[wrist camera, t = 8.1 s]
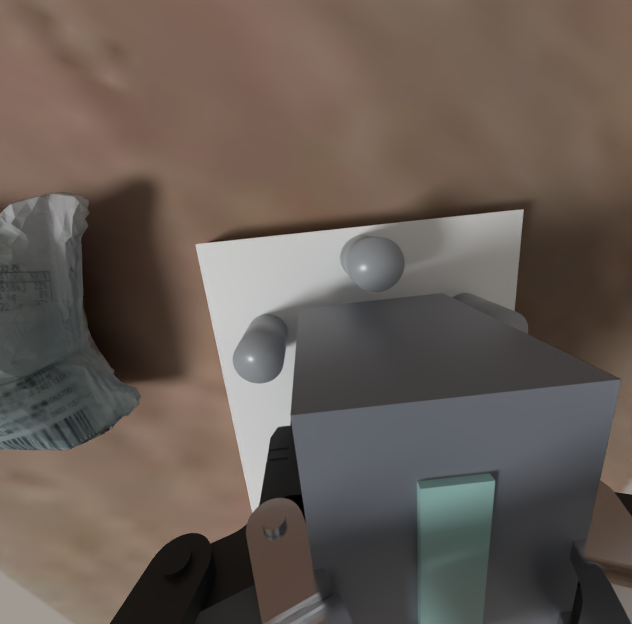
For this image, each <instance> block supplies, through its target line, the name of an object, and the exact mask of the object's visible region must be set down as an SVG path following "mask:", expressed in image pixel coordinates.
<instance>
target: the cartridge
mask: <svg viewBox="0 0 632 624" xmlns="http://www.w3.org/2000/svg"><path fill="white" fill-rule="evenodd" d="M620 384H621V379H620V378H618V377H616V376H613V375H611V374H609V373H607V372H605V371H603V370H601V369H599V368H597V367H595V366H593V365H591V364H589V363H586V362H584V361H582V360H580V359H578V358H576V357H574V356H572V355H570V354H568V353H566V352H564V351H562V350H559V349H557V348H555V347H553V346H551V345H549V344H547V343H545V342H543V341H541V340H539V339H537V338H535V337H532V336H530V335H528V334H526V333H524V332H522V331H520V330H518V329H516V328H514V327H512V326H510V325H508V324H506V323H503V322H501V321H499V320H497V319H495V318H493V317H491V316H489V315H487V314H485V313H483V312H481V311H479V310H476V309H474V308H472V307H470V306H468V305H466V304H464V303H462V302H460V301H458V300H456V299H454V298H452V297H449V296H447V295H445V294H443V293H438V294H429V295H420V296H410V297H401V298H392V299H383V300H373V301H364V302H355V303H345V304H336V305H327V306H317V307H308V308H299V314H298V327H297V339H296V352H295V364H294V376H293V389H292V401H291V414H290V416H291V423H292V430H293V437H294V444H295V450H296V457H297V464H298V471H299V478H300V484H301V491H302V498H303V505H304V512H305V518H306V525H307V532H308V539H309V546H310V552H311V559H312V566H313V570H314V569H323V568H324V569H325V572H326V574H327V577H328V579H329V582H330V584H331V587H332V589H333V591H334V592H335V593H338V594H339V595H340V596H341V598H342V600H343V602H344V604H345V606H346V608H347V611H348V613H349V615H350V618H351V620H352V623H353V624H557V621H558V616H559V612H566V611H572V608H573V603H574V599H575V594H576V589H577V585H578V580H579V579H578V576H577V574H576V571H575V569H574V567H573V565H572V562H571V560H570V554H571V549H572V544H573V540H582V539H587V538H588V533H589V528H590V524H591V519H592V514H593V510H594V505H595V500H596V496H597V491H598V486H599V482H600V477H601V472H602V468H603V463H604V458H605V454H606V449H607V444H608V440H609V435H610V430H611V426H612V421H613V416H614V412H615V407H616V402H617V398H618V393H619V388H620Z"/></svg>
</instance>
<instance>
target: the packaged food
mask: <svg viewBox="0 0 632 624" xmlns="http://www.w3.org/2000/svg"><path fill="white" fill-rule="evenodd" d="M88 205H89V200H88V199H86V198H84V197H82V196H79V195H75V194H70V193H65V192H61V193H48V194H45V195H43V196H39V197H34V198H30V199H26V200H22V201H19V202H15V203H12V204H9V205H8V206H7V207H6V208H5V209H4V210H3V211H2V212H1V213H0V449H20V450H69V449H72V448H73V447H75V446H78V445H80V444H83V443H85V442H87V441H89V440H91V439H93V438H95V437H97V436H99V435H102V434H104V433H105V432H106V431H108V430H110V429H112V428H113V426H114V425H115V424H116V423H117V422H118V421H119V420H120V419H121V418H122V417H123V416H127V415H129V414H130V413H131V411H132V410H133V409H134V408H135V407H137V406H138V405H139V399H140V398H141V396H140V395H139V393H138V391H137V389H136V388H135V387H132V386H128V385H126V384H124V383H122V382H121V381H120V380H119V379H118V378H117V377H116V376H115V375H114V372H115V371H114V369H112V368H111V367H110V366H109V364H108V363H107V361H106V359H105V358H104V357H103V355H102V354H101V352H100V351H99V349H98V347H97V346H96V344H95V342H94V341H93V339H92V337H91V334H90V332H89V330H88V322H87V317H86V314H85V311H84V303H83V278H82V244H81V237H82V235H83V233H84V232H85V230H86V229H87V227H88V224H87V222H86V220H85V218H86V217H87V216H88V215H89V211H88V209H87V207H88Z"/></svg>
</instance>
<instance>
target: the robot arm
mask: <svg viewBox="0 0 632 624" xmlns="http://www.w3.org/2000/svg"><path fill="white" fill-rule="evenodd" d="M570 560H571V562H572V565H573V567H574V569H575V571H576V574H577V576H578V579H579V580H578V585H577V589H576V594H575V599H574V603H573V608H572V611H566V612H559V616H558V621H557V624H632V495H630V494H623V493H617V492H614V491H613V490H612V489H611V488H610V487H609V486H607V485H606V484H605V483H603V482H602V481H600V482H599V486H598V491H597V496H596V500H595V505H594V510H593V514H592V519H591V524H590V528H589V533H588V538H587V539H582V540H573V544H572V549H571V554H570ZM110 624H353V623H352V620H351V618H350V615H349V613H348V611H347V608H346V606H345V604H344V602H343V600H342V598H341V596H340V595H339V594H338V593H335V592H334V591H333V589H332V587H331V584H330V582H329V579H328V577H327V574H326V572H325V569H324V568H323V569H314V570H313V566H312V559H311V552H310V546H309V539H308V532H307V525H306V518H305V512H304V505H303V498H302V491H301V484H300V478H299V471H298V464H297V457H296V450H295V444H294V437H293V430H292V423H290V426H282V427H278V428H277V429H276V430H275V432H274V433H273V435H272V436H271V438H270V444H269V452H268V456H267V462H266V468H265V474H264V480H263V486H262V492H261V498H260V503H259V506H258V507H257V508H256V509H255V510H254V512H253V513H252V514H251V516H250V518H249V520H248V522H247V524H246V525H245V526H244V527H243V528H242V529H240V530H239V531H237V532H235V533H233V534H231V535H229V536H227V537H225V538H222V539H220V540H218V541H215V542H213V543H211V544H210V542H209V541H208V539H207V538H206V537H205V536H203V535H201V534H197V533H190V534H185V535H182V536H179V537H177V538H175V539H174V540H172V541H170V542H169V543H168V544H166V545H165V546H164V547H163V548H162V549H161V550H160V551H159V552H158V553H157V554H156V555H155V557H154V558H153V559H152V561H151V562H150V564H149V565H148V567H147V568H146V570H145V571H144V573H143V574H142V576H141V577H140V579H139V580H138V582H137V583H136V585H135V586H134V588H133V589H132V591H131V593H130V594H129V596H128V597H127V599H126V600H125V602H124V603H123V605H122V606H121V608H120V609H119V611H118V612H117V614H116V615H115V617H114V618H113V620H112V621H111V623H110Z"/></svg>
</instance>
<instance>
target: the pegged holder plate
mask: <svg viewBox="0 0 632 624" xmlns="http://www.w3.org/2000/svg"><path fill="white" fill-rule="evenodd" d="M523 211H524V209H522V210H510V211H499V212H490V213H480V214H471V215H462V216H452V217H443V218H434V219H424V220H415V221H406V222H396V223H387V224H377V225H368V226H359V227H349V228H340V229H331V230H321V231H312V232H303V233H293V234H284V235H274V236H265V237H256V238H246V239H237V240H228V241H218V242H209V243H201V244H195V245H196V249H197V254H198V259H199V264H200V268H201V273H202V278H203V282H204V287H205V292H206V297H207V301H208V306H209V311H210V315H211V320H212V325H213V330H214V334H215V339H216V344H217V348H218V353H219V358H220V363H221V367H222V372H223V377H224V381H225V386H226V391H227V396H228V400H229V405H230V410H231V414H232V419H233V424H234V429H235V433H236V438H237V443H238V447H239V452H240V457H241V462H242V466H243V471H244V476H245V480H246V485H247V490H248V495H249V499H250V504H251V509H252V513H253V512H254V510H255V509H256V508H257V507H258V506H259V503H260V498H261V492H262V486H263V480H264V474H265V468H266V462H267V456H268V452H269V444H270V438H271V436H272V435H273V433H274V432H275V430H276V429H277V428H278V427H282V426H290V423H291V416H290V414H291V401H292V389H293V376H294V364H295V352H296V339H297V327H298V314H299V308H308V307H317V306H327V305H336V304H345V303H355V302H364V301H373V300H383V299H392V298H401V297H410V296H420V295H429V294H438V293H443V294H445V295H447V296H449V297H452V298H454V299H456V300H458V301H460V302H462V303H464V304H466V305H468V306H470V307H472V308H474V309H476V310H479V311H481V312H483V313H485V314H487V315H489V316H491V317H493V318H495V319H497V320H499V321H501V322H503V323H506V324H508V325H510V326H512V327H514V328H516V329H518V330H520V331H522V332H524V333H526V334H528V324H527V321H526V319H525V318H524V317H523V315H521V314H520V313H518V312H516V311H515V300H516V289H517V278H518V267H519V255H520V244H521V233H522V222H523Z"/></svg>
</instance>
